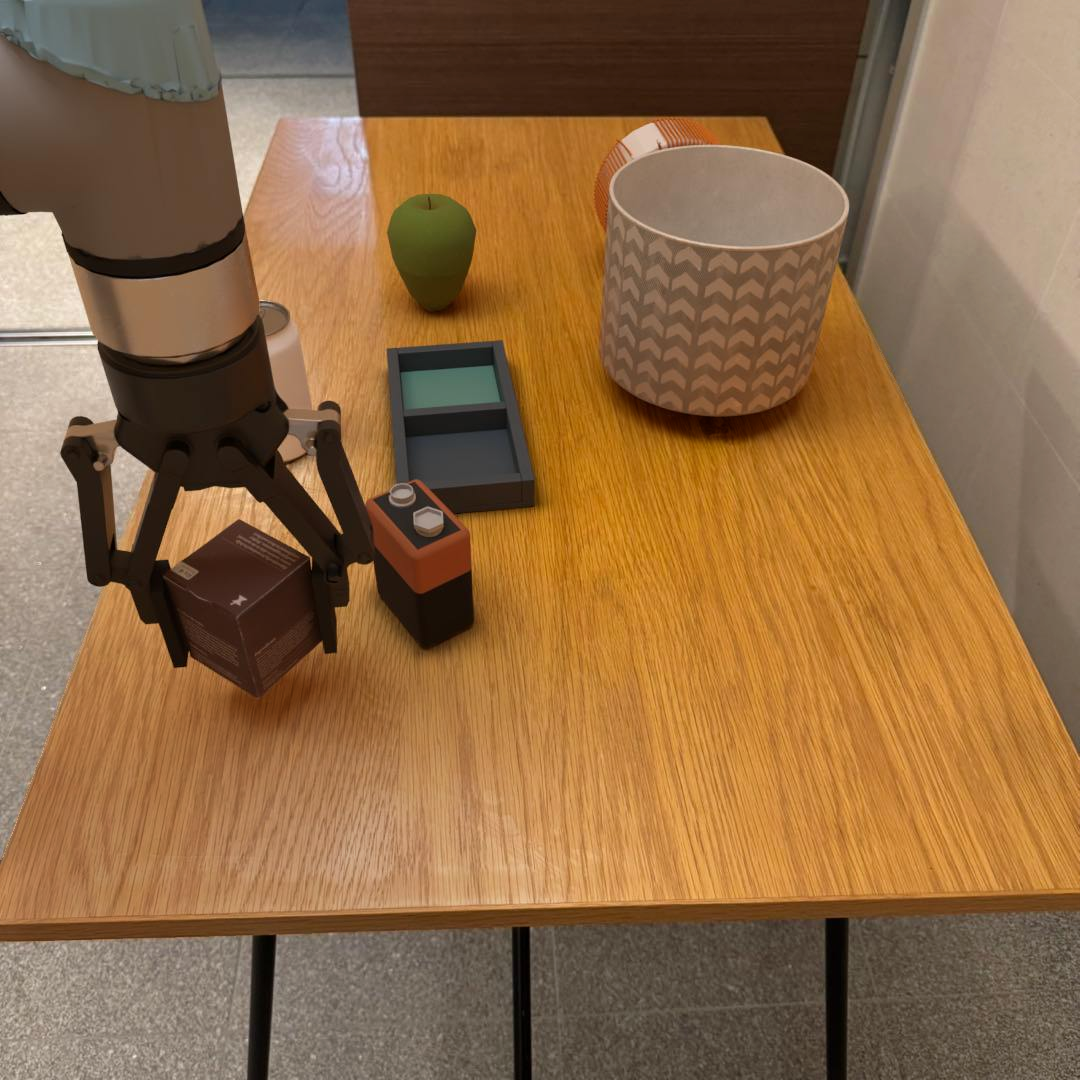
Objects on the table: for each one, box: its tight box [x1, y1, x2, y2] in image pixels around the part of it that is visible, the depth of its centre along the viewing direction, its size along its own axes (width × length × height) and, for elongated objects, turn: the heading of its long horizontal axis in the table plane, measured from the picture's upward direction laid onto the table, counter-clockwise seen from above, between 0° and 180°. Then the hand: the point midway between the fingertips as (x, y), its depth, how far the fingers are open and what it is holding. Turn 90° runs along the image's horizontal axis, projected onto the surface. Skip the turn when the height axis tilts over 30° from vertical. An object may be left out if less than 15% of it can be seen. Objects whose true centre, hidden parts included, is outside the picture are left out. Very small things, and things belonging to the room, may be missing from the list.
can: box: [258, 299, 313, 464], centre depth 81 cm, size 6×6×12 cm
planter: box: [598, 144, 850, 417], centre depth 86 cm, size 19×19×18 cm
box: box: [163, 518, 323, 699], centre depth 60 cm, size 6×6×7 cm
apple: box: [386, 193, 477, 313], centre depth 98 cm, size 9×8×12 cm
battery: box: [364, 479, 475, 649], centre depth 67 cm, size 4×7×10 cm, turn 36°
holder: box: [386, 339, 536, 515], centre depth 85 cm, size 11×20×3 cm, turn 9°
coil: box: [593, 116, 723, 234], centre depth 103 cm, size 7×15×15 cm, turn 100°
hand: (257, 643), depth 62 cm, fingers closed on box, 8 cm apart
